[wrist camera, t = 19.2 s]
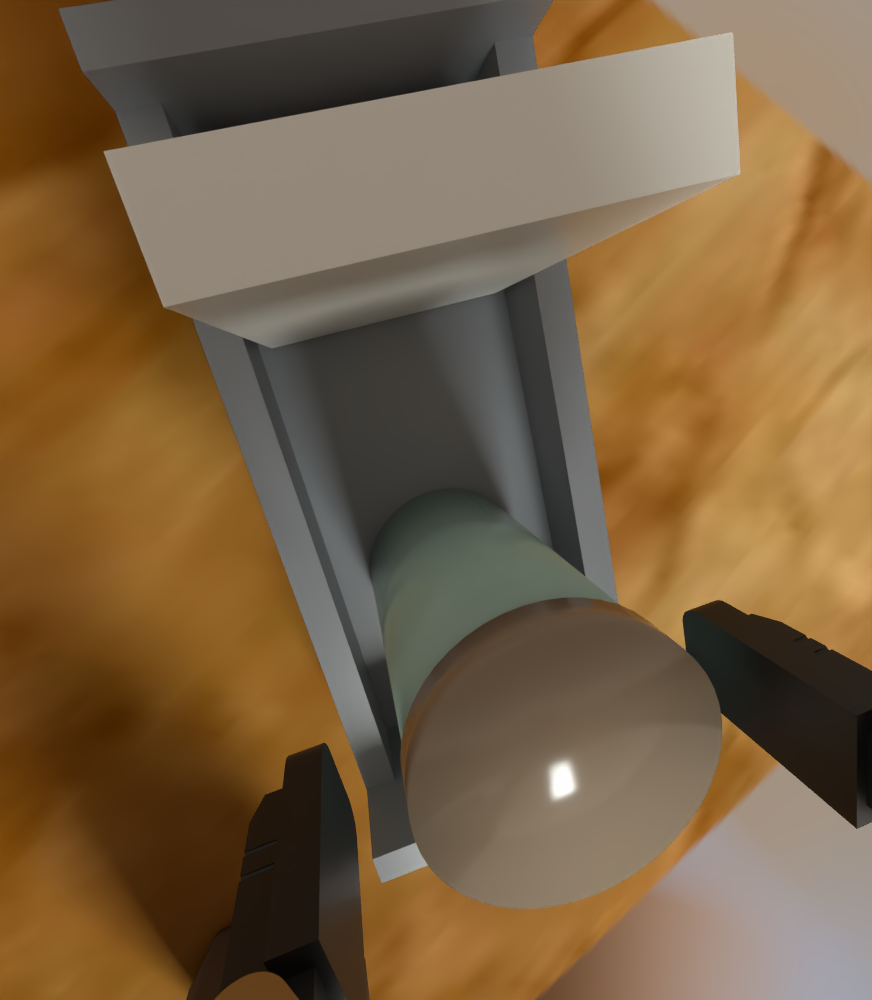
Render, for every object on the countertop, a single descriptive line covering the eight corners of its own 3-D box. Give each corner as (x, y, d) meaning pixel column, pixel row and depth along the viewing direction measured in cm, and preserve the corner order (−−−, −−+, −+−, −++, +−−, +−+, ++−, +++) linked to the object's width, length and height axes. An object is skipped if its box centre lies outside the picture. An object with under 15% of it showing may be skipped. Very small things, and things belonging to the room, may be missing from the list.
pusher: (494, 293, 16) (740, 173, 6) (271, 348, 15) (163, 307, 5) (463, 132, 14) (714, -329, 5) (217, 182, 14) (-57, -263, 4)
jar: (534, 607, 19) (731, 837, 10) (391, 654, 18) (453, 953, 9) (505, 466, 17) (710, 578, 8) (347, 512, 17) (365, 697, 7)
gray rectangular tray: (588, 661, 22) (679, 765, 16) (368, 740, 20) (382, 882, 15) (483, 70, 15) (572, -111, 9) (151, 132, 14) (26, -33, 8)
